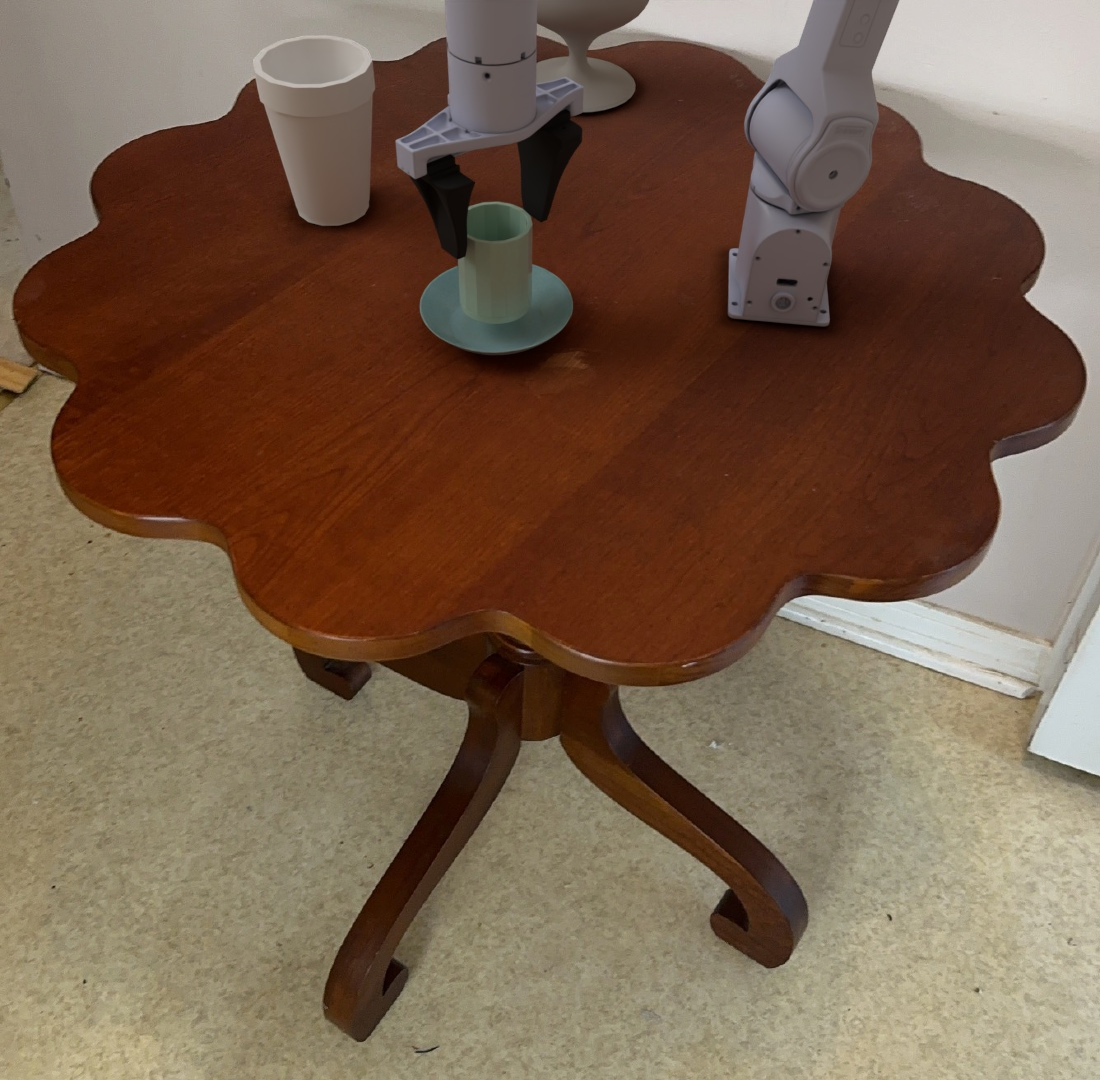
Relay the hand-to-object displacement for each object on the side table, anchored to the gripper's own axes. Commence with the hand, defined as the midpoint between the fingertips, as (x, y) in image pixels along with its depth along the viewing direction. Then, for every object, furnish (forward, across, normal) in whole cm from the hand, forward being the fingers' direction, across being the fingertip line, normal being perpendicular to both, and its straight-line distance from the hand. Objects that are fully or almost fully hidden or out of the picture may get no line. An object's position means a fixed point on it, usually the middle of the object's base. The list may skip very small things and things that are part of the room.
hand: (495, 233), depth 80 cm
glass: (+6, 0, 0) cm, 6 cm away
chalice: (+8, -32, -26) cm, 42 cm away
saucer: (+8, 0, 0) cm, 8 cm away
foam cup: (+8, 0, -23) cm, 24 cm away
